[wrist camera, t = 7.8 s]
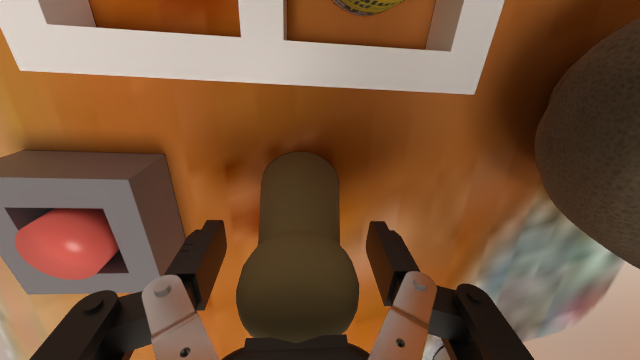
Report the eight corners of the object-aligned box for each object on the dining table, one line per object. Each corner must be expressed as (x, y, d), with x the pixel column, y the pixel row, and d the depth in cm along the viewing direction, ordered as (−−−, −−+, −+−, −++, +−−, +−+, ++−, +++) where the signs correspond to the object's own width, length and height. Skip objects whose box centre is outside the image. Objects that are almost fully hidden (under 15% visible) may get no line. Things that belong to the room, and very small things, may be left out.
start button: (122, 195, 16) (86, 222, 13) (140, 246, 18) (112, 279, 15) (50, 194, 16) (-2, 222, 13) (76, 246, 18) (36, 280, 15)
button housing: (164, 154, 17) (127, 179, 13) (188, 252, 21) (165, 292, 17) (23, 150, 16) (-56, 176, 13) (76, 252, 20) (27, 294, 17)
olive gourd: (251, 158, 18) (186, 286, 8) (334, 144, 17) (374, 256, 8) (271, 225, 20) (242, 382, 10) (343, 213, 20) (381, 360, 10)
